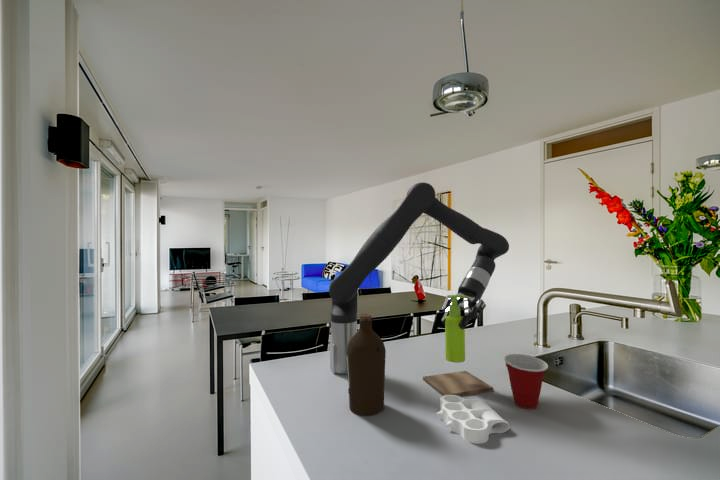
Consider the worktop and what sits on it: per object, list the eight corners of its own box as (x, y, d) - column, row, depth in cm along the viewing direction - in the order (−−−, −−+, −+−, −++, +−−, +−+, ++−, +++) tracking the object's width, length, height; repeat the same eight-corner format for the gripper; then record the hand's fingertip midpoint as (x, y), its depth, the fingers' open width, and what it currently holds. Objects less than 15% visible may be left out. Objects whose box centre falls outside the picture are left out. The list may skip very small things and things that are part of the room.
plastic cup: (531, 418, 86) (530, 370, 86) (496, 400, 95) (495, 357, 96) (558, 407, 91) (557, 362, 91) (522, 392, 100) (521, 351, 101)
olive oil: (391, 401, 96) (389, 312, 96) (379, 420, 86) (377, 320, 86) (356, 396, 99) (354, 310, 100) (340, 413, 90) (339, 317, 90)
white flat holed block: (517, 441, 77) (455, 448, 74) (478, 404, 94) (427, 408, 92) (517, 426, 77) (455, 432, 74) (478, 392, 94) (427, 396, 92)
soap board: (445, 398, 97) (445, 394, 97) (422, 379, 111) (422, 376, 111) (493, 390, 102) (493, 387, 102) (465, 373, 115) (465, 370, 115)
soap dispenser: (469, 363, 103) (468, 297, 103) (446, 362, 104) (445, 296, 104) (467, 356, 109) (466, 293, 108) (445, 355, 110) (444, 293, 110)
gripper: (451, 275, 117) (428, 314, 110) (489, 278, 105) (466, 322, 98) (461, 289, 120) (439, 328, 113) (499, 293, 108) (477, 337, 101)
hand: (452, 325), depth 106 cm, fingers closed on soap dispenser, 6 cm apart
